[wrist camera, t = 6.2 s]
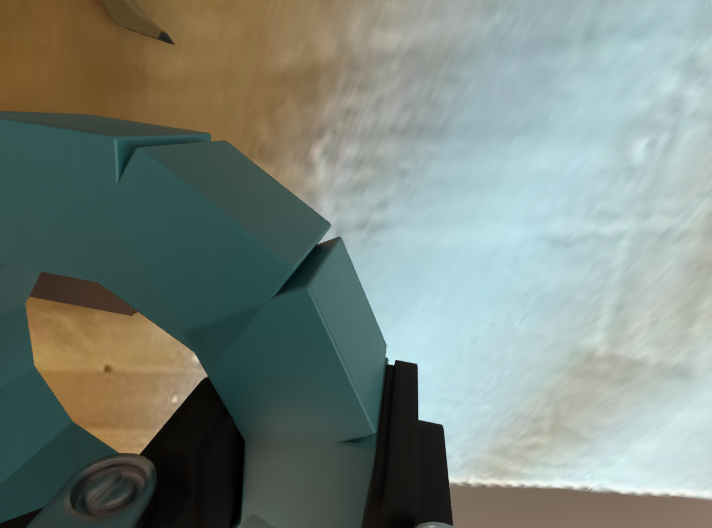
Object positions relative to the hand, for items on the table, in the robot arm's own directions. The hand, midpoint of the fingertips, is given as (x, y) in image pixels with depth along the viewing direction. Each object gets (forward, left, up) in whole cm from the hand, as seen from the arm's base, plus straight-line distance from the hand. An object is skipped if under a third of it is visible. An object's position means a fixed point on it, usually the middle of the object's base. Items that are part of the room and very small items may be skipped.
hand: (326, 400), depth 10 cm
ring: (+5, 0, 0) cm, 5 cm away
